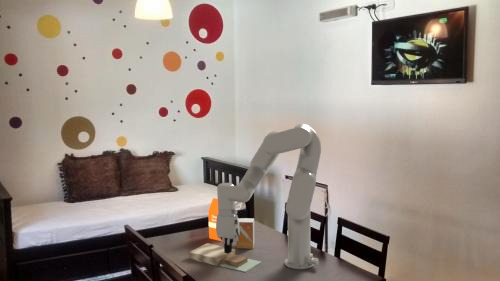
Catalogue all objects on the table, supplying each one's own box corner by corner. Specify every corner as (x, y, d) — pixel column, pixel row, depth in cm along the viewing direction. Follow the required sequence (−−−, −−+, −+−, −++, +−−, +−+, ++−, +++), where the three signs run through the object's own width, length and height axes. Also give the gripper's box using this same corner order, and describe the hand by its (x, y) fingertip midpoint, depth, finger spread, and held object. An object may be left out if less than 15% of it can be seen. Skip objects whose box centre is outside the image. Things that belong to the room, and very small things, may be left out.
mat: (261, 262, 204) (261, 261, 204) (245, 272, 194) (245, 271, 194) (235, 256, 212) (235, 255, 212) (219, 265, 202) (219, 264, 202)
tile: (247, 261, 204) (247, 257, 204) (238, 267, 198) (238, 262, 198) (230, 257, 209) (230, 253, 209) (221, 263, 203) (221, 258, 203)
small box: (236, 248, 222) (235, 221, 220) (238, 244, 228) (237, 217, 226) (253, 248, 221) (253, 222, 219) (254, 244, 227) (254, 218, 225)
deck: (235, 256, 212) (235, 249, 212) (217, 265, 202) (217, 258, 201) (207, 249, 221) (207, 243, 221) (189, 258, 210) (189, 251, 210)
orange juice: (222, 241, 232) (221, 202, 229) (209, 238, 237) (207, 199, 234) (232, 237, 238) (231, 198, 235) (219, 233, 243) (217, 196, 241)
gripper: (245, 211, 203) (247, 252, 205) (218, 207, 211) (219, 246, 213) (235, 216, 196) (237, 258, 199) (207, 211, 205) (209, 252, 207)
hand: (228, 252), depth 206 cm, fingers closed
